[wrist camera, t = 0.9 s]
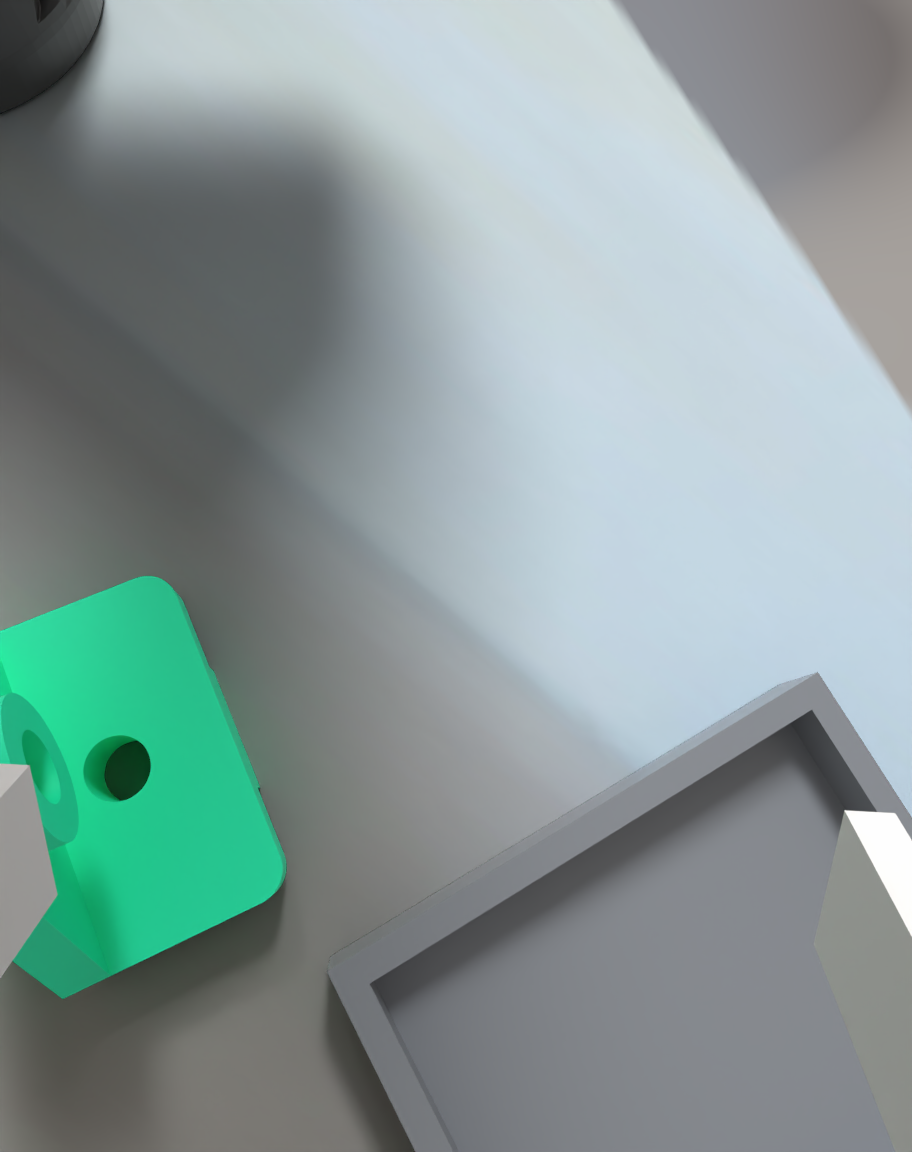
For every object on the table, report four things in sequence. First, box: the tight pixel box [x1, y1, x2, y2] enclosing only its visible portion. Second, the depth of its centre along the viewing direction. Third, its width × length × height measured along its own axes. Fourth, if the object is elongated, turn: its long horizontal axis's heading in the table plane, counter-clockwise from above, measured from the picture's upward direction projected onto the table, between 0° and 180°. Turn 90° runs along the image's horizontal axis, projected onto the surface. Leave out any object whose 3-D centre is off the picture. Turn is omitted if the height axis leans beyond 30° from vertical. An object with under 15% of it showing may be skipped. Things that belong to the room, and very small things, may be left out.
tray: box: [327, 672, 912, 1152], centre depth 29 cm, size 16×20×3 cm
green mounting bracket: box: [0, 576, 287, 999], centre depth 27 cm, size 12×8×10 cm, turn 25°
